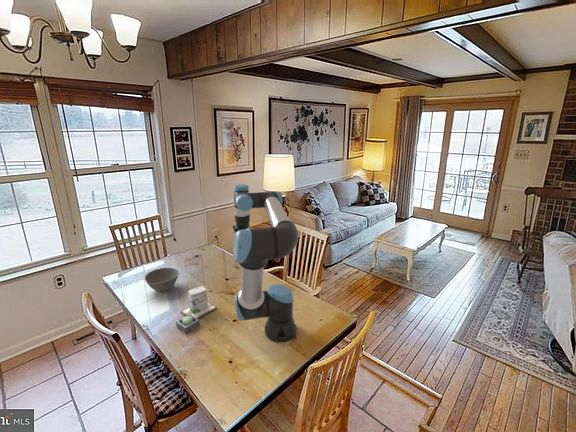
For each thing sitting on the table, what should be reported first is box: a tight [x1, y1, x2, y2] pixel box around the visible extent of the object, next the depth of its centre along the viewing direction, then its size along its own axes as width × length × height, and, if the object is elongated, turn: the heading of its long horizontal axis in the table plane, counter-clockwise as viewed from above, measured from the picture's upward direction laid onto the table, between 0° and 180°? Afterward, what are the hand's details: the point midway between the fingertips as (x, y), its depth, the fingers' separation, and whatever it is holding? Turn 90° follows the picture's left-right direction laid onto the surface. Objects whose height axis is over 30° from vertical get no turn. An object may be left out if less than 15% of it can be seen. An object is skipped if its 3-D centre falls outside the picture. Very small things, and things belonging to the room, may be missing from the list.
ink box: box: [187, 285, 209, 314], centre depth 158 cm, size 8×5×12 cm, turn 127°
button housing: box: [175, 314, 201, 334], centre depth 147 cm, size 8×8×3 cm
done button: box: [182, 316, 193, 326], centre depth 147 cm, size 5×5×3 cm
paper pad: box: [180, 301, 218, 320], centre depth 160 cm, size 12×15×1 cm
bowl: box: [144, 267, 180, 292], centre depth 178 cm, size 19×19×10 cm
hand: (244, 256), depth 160 cm, fingers closed
